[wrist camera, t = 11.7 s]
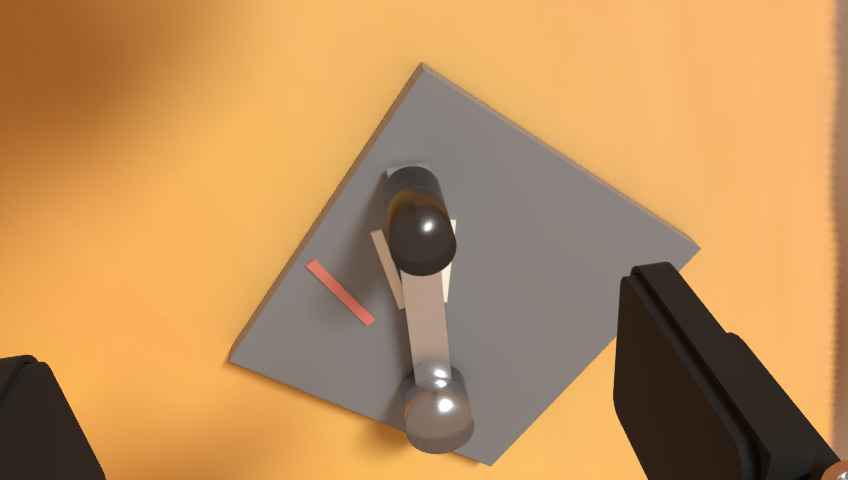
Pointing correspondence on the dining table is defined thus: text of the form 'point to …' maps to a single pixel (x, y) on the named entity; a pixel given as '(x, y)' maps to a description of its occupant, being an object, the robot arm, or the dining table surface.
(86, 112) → the dining table surface
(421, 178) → the swing lever
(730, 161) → the dining table surface
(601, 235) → the board
